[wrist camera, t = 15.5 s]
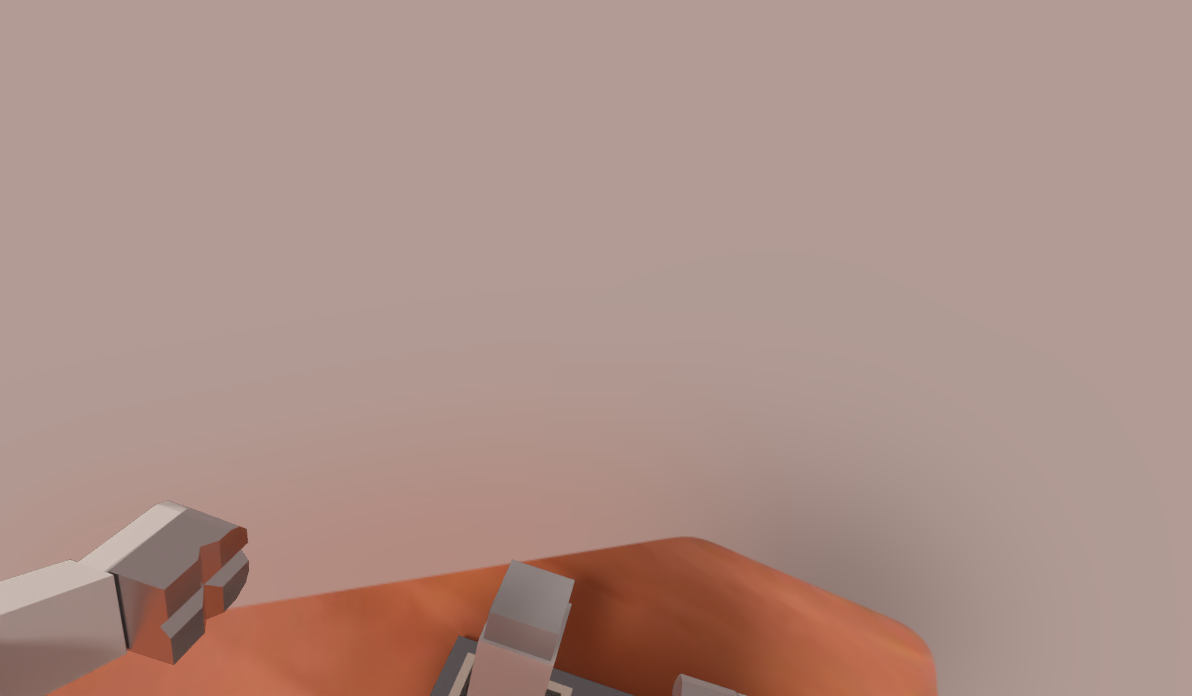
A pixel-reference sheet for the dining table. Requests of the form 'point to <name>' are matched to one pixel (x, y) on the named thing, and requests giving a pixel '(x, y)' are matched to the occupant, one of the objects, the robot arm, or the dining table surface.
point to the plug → (521, 633)
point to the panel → (451, 688)
